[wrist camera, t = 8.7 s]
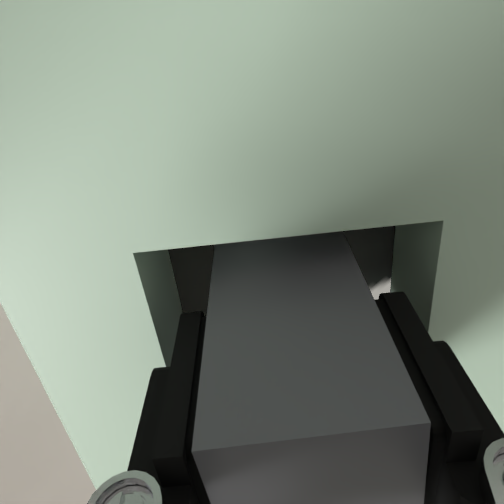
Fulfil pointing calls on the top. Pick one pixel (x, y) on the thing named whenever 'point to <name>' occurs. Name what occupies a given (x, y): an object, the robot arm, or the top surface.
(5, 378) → the top surface
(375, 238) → the top surface
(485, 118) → the socket plate
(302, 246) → the plug
